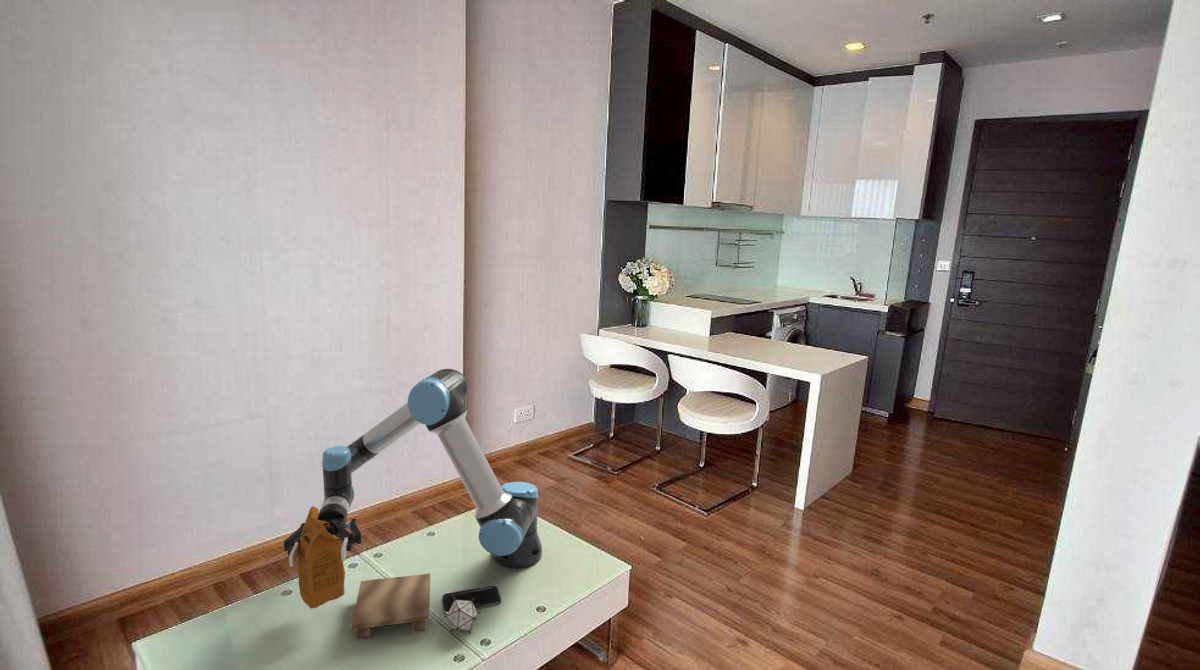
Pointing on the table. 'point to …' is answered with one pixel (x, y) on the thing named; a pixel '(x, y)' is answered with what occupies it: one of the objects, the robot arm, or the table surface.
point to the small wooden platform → (392, 603)
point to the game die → (461, 615)
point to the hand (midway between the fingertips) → (317, 558)
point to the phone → (480, 595)
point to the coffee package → (319, 563)
